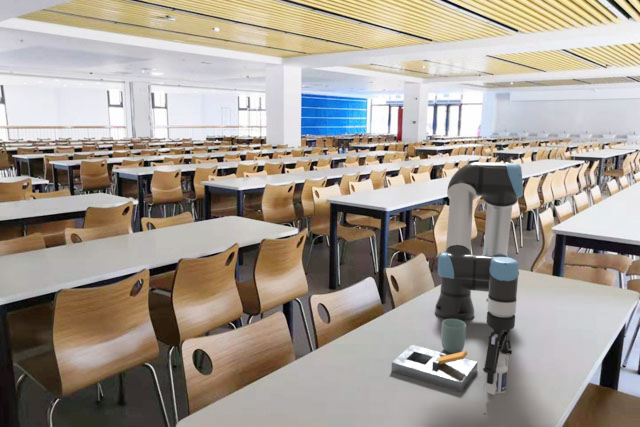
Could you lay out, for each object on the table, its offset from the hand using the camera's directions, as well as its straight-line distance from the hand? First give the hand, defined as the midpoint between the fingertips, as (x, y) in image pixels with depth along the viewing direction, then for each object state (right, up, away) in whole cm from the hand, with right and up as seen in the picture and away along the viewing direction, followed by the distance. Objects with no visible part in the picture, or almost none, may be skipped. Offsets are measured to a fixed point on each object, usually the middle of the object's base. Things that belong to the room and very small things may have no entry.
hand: (496, 383), depth 149 cm
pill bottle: (0, -2, 0) cm, 2 cm away
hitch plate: (-16, 0, +11) cm, 19 cm away
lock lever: (-11, +4, +7) cm, 14 cm away
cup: (-6, +2, +25) cm, 26 cm away
